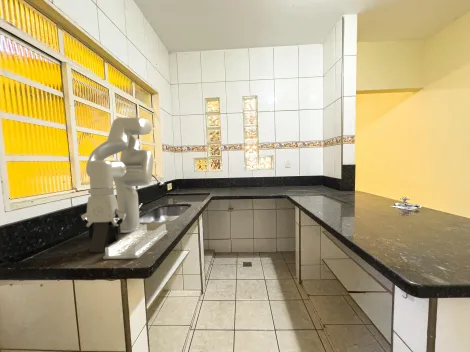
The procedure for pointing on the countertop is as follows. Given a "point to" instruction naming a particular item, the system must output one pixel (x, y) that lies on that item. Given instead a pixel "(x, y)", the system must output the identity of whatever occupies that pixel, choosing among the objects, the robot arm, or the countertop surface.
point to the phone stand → (102, 237)
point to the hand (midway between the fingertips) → (105, 235)
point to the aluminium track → (134, 243)
